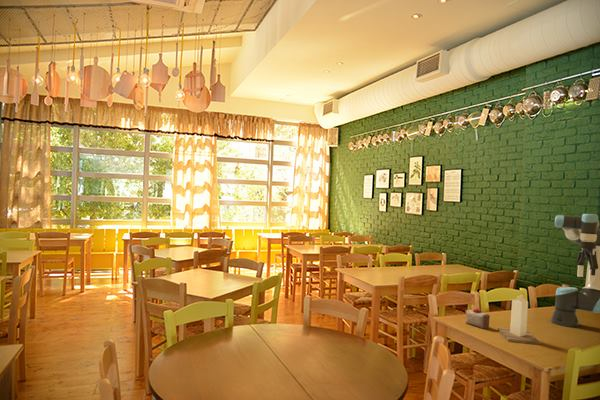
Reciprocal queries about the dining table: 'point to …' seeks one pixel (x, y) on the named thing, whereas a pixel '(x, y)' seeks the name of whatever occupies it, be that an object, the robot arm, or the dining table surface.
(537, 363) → the dining table surface
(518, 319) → the milk
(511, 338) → the tan board
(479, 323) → the food item
